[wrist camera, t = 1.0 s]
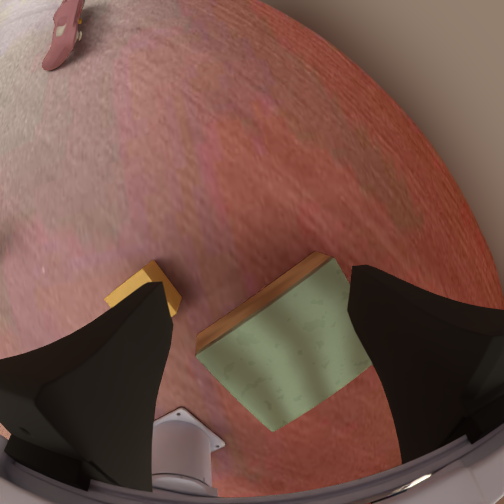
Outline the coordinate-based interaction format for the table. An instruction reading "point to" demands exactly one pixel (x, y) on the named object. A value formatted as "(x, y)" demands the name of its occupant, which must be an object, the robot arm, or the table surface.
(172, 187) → the table surface
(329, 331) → the green slab
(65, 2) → the video game controller
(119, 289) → the cube
